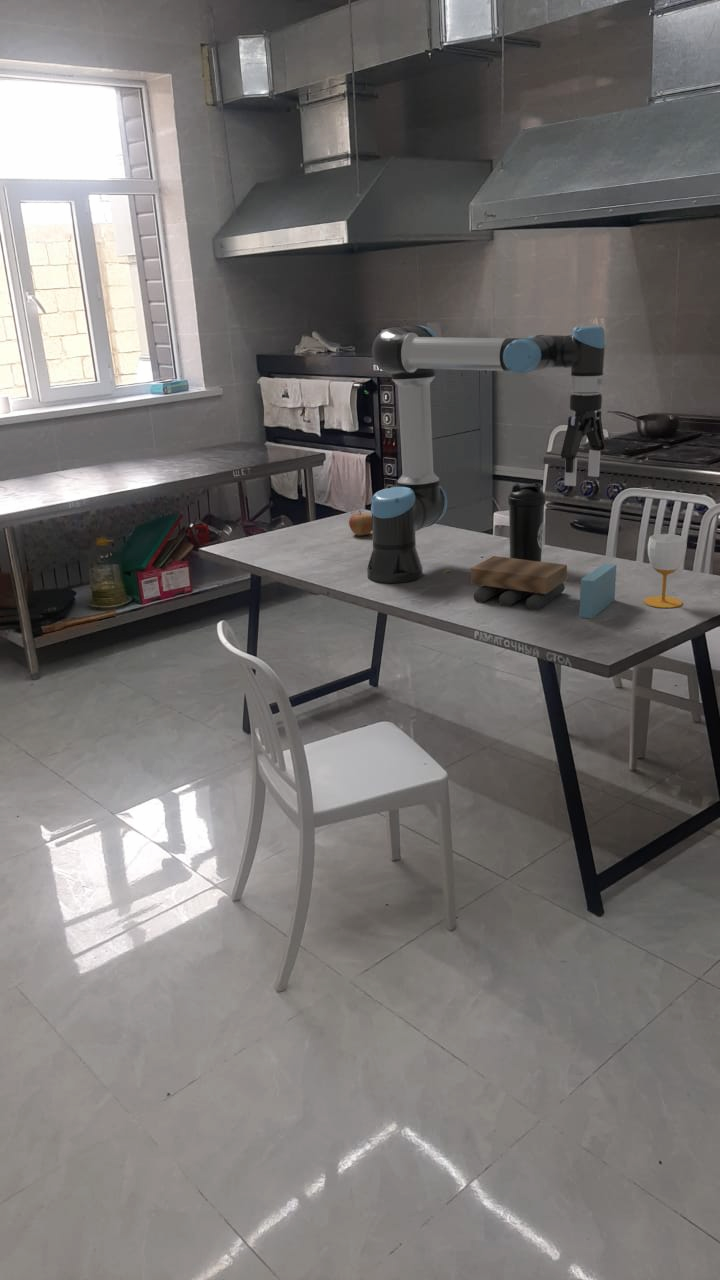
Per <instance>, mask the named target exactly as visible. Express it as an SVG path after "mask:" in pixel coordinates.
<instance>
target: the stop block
mask: <svg viewBox="0 0 720 1280" xmlns="http://www.w3.org/2000/svg"><path fill="white" fill-rule="evenodd" d="M616 577H617V564H615V563H607V562H606V563H605V562H604V563H602V564H601V565H599V566H598V567H597V568H596V569H594V570H593V571H591V572H590V573H588V574H587V575H585V576H584V577H583V578H581V579H580V587H579V591H580V592H579V609H578V610H579V612H578V613H579V614H578V617H580V618H586V619H593V618H595V616H597V614H599V613H600V612H602V611H603V610H604V609H605V608H606V607H607V606H609V605H610V604H611V603H612V602H614V601H615V599H616V598H615V597H616V581H617V580H616Z"/></svg>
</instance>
